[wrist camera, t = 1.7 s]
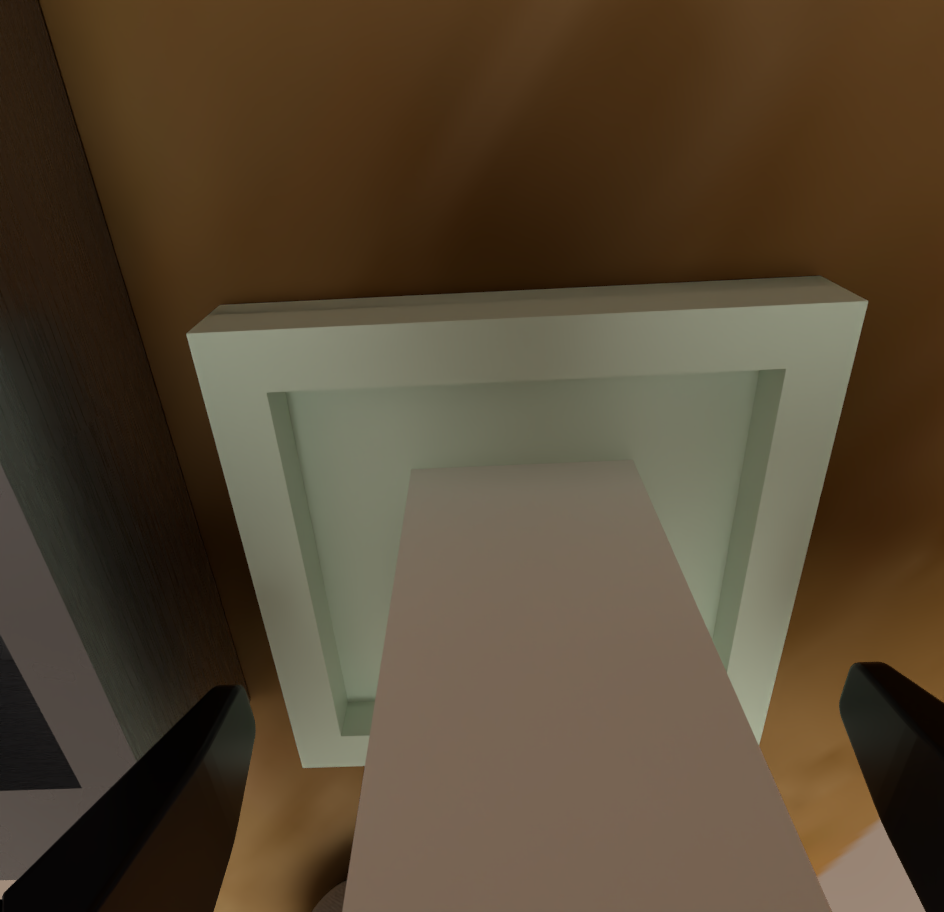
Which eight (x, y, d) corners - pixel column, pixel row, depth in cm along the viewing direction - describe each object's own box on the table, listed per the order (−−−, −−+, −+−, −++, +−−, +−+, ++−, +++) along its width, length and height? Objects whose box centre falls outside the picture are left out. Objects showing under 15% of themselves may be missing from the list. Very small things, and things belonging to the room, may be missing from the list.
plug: (633, 459, 12) (890, 1043, 5) (619, 626, 14) (785, 1220, 7) (411, 468, 12) (318, 1056, 5) (428, 633, 14) (383, 1226, 7)
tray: (819, 275, 11) (867, 300, 10) (733, 697, 16) (757, 753, 14) (219, 304, 11) (186, 333, 10) (316, 711, 16) (302, 768, 15)
